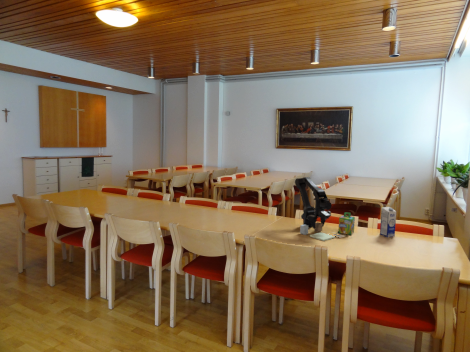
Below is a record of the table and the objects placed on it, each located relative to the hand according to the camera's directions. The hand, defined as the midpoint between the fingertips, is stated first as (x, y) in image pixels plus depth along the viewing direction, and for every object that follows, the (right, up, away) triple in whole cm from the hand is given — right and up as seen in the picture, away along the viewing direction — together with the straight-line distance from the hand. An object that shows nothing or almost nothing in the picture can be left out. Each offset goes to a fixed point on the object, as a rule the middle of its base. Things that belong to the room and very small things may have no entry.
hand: (318, 227), depth 241 cm
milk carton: (+47, -4, -9) cm, 48 cm away
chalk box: (+20, -3, -3) cm, 20 cm away
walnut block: (0, -3, 0) cm, 3 cm away
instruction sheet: (+11, -4, -9) cm, 15 cm away
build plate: (-1, -4, -14) cm, 15 cm away
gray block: (-12, -3, -6) cm, 13 cm away
